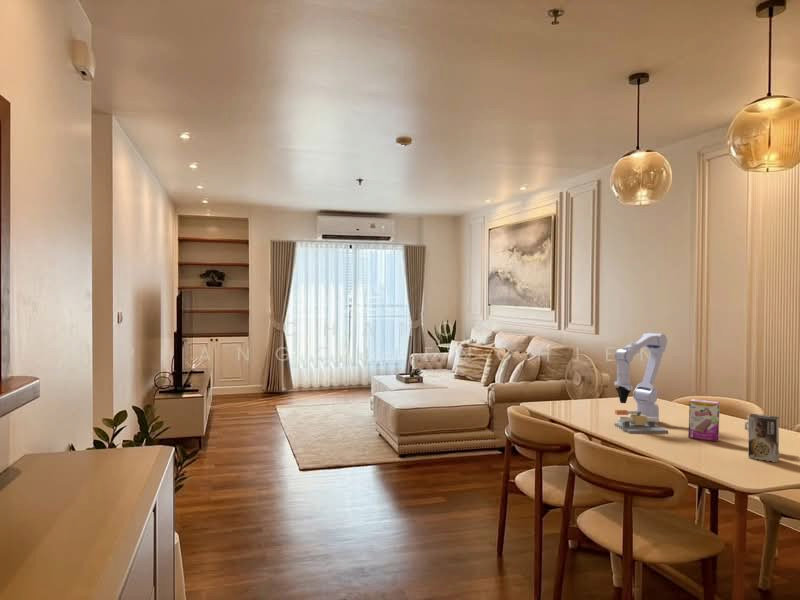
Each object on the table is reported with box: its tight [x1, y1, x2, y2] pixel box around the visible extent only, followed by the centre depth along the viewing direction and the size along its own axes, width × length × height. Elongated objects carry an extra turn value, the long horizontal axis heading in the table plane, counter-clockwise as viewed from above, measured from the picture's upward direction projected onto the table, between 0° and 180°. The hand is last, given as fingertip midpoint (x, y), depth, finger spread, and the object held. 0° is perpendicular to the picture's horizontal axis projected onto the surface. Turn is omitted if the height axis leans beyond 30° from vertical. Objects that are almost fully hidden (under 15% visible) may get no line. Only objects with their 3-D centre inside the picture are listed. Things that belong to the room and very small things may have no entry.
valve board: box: [614, 414, 669, 434], centre depth 242 cm, size 18×14×6 cm
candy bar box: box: [688, 398, 721, 443], centre depth 226 cm, size 11×5×16 cm, turn 56°
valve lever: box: [614, 409, 642, 416], centre depth 244 cm, size 12×2×2 cm, turn 94°
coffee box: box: [747, 413, 780, 463], centre depth 199 cm, size 9×6×16 cm
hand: (623, 402), depth 251 cm, fingers closed
